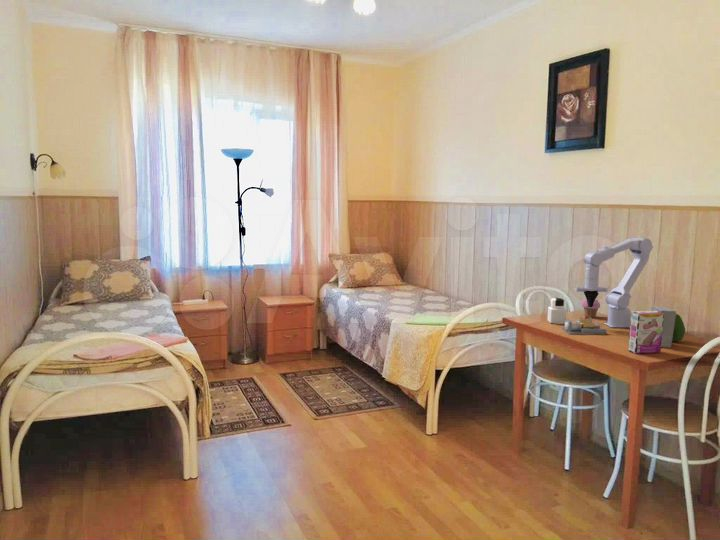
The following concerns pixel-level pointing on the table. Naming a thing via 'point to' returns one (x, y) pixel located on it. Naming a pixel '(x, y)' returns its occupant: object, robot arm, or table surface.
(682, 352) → the table surface
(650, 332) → the candy bar box
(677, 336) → the avocado
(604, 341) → the table surface
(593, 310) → the cupcake
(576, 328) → the grey piece
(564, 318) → the medicine bottle
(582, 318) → the valve
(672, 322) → the skincare box
